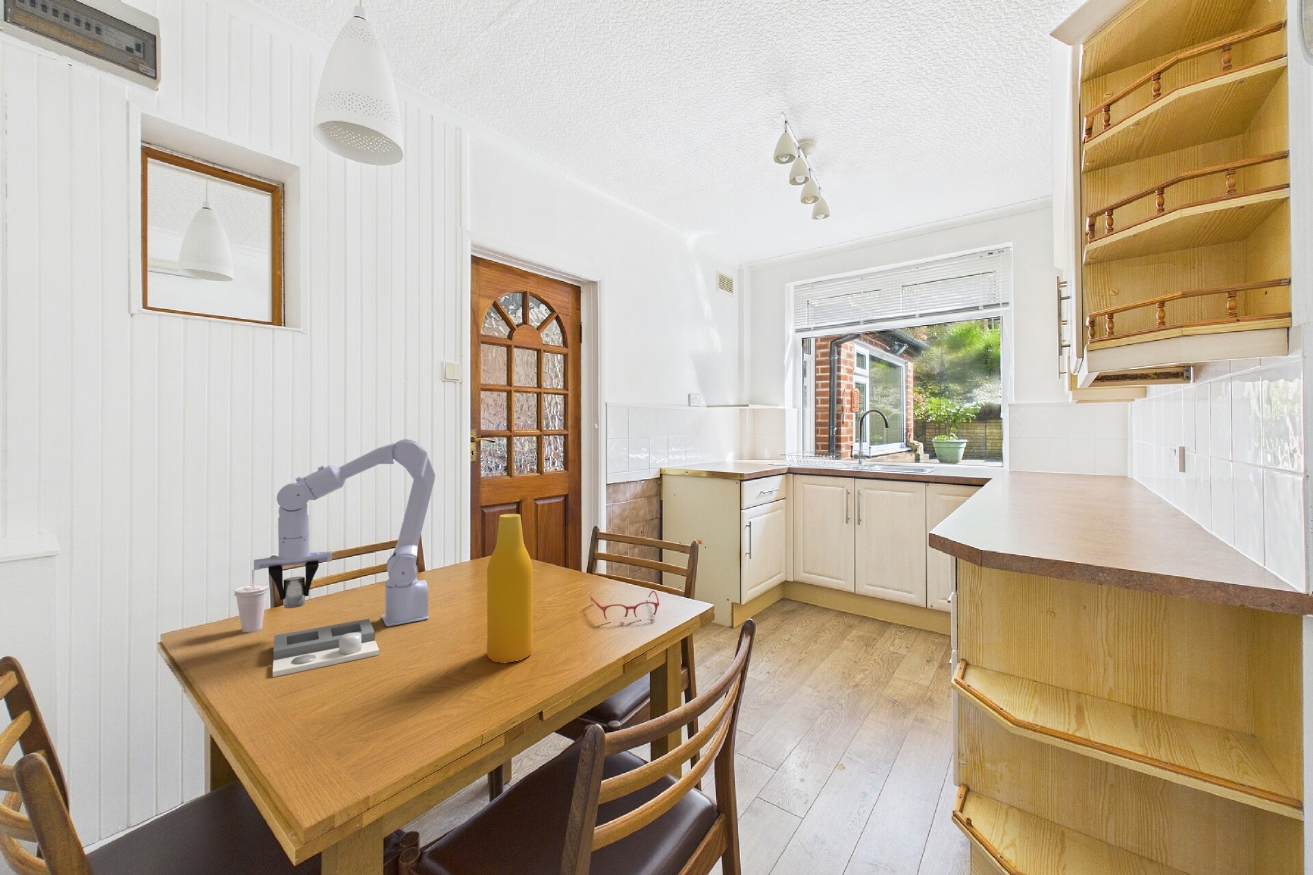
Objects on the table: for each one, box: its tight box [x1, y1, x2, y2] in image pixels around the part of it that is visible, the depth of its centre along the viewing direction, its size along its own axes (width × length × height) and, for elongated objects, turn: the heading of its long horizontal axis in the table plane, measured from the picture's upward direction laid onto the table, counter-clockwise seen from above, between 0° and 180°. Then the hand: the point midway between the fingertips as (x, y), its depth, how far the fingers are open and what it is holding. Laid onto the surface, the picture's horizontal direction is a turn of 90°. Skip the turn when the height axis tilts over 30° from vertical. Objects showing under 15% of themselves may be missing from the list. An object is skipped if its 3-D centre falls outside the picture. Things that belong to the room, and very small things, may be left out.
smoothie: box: [233, 569, 269, 633], centre depth 126 cm, size 6×6×14 cm
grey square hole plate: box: [272, 618, 376, 661], centre depth 117 cm, size 18×10×2 cm, turn 124°
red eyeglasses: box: [589, 590, 660, 620], centre depth 139 cm, size 17×16×5 cm
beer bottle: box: [486, 513, 534, 663], centre depth 112 cm, size 9×9×29 cm
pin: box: [283, 576, 306, 609], centre depth 122 cm, size 4×4×6 cm
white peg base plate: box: [272, 633, 380, 678], centre depth 109 cm, size 18×6×4 cm, turn 124°
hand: (294, 596), depth 122 cm, fingers closed on pin, 4 cm apart
